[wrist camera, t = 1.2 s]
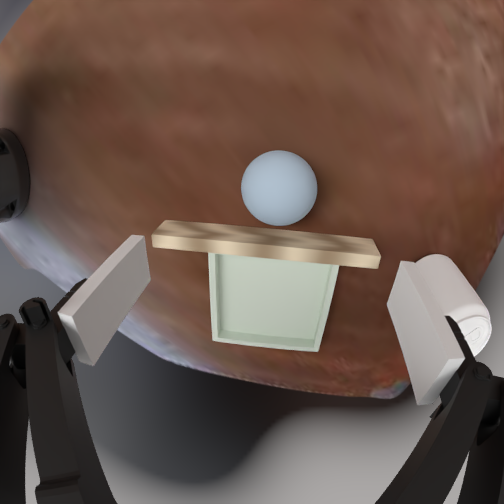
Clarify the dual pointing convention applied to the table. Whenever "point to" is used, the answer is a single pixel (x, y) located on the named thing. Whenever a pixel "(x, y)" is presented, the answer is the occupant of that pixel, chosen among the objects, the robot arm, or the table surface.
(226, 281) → the tray
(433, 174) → the table surface
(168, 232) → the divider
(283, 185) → the ball
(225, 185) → the table surface
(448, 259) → the beverage can
